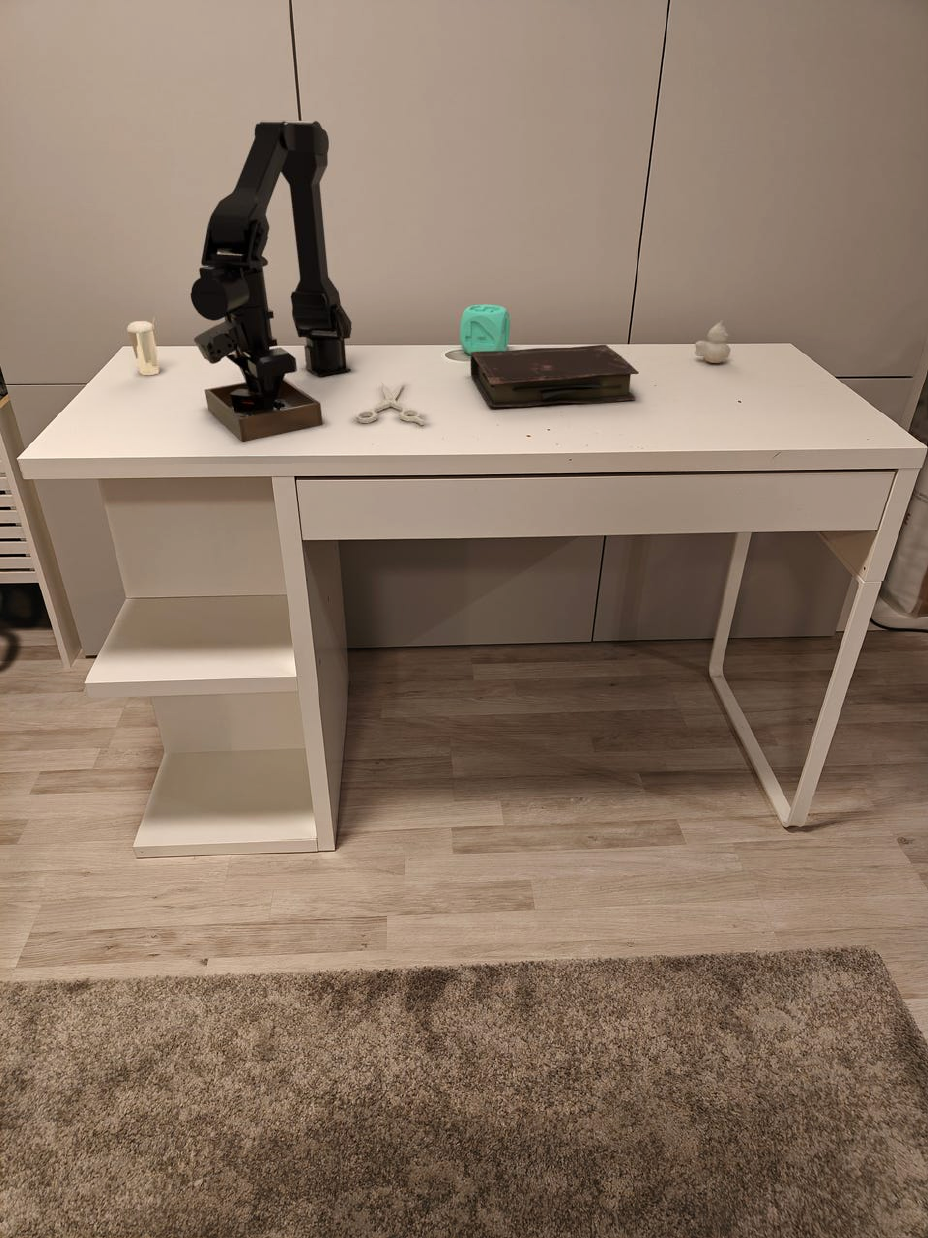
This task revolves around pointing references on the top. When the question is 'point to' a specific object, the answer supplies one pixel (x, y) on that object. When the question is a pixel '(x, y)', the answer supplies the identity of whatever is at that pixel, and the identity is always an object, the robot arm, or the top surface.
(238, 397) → the black dial case
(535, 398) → the diary
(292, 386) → the desk tray
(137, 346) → the milkshake
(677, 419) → the top surface
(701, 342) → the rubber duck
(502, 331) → the decorative dice
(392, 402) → the scissors
